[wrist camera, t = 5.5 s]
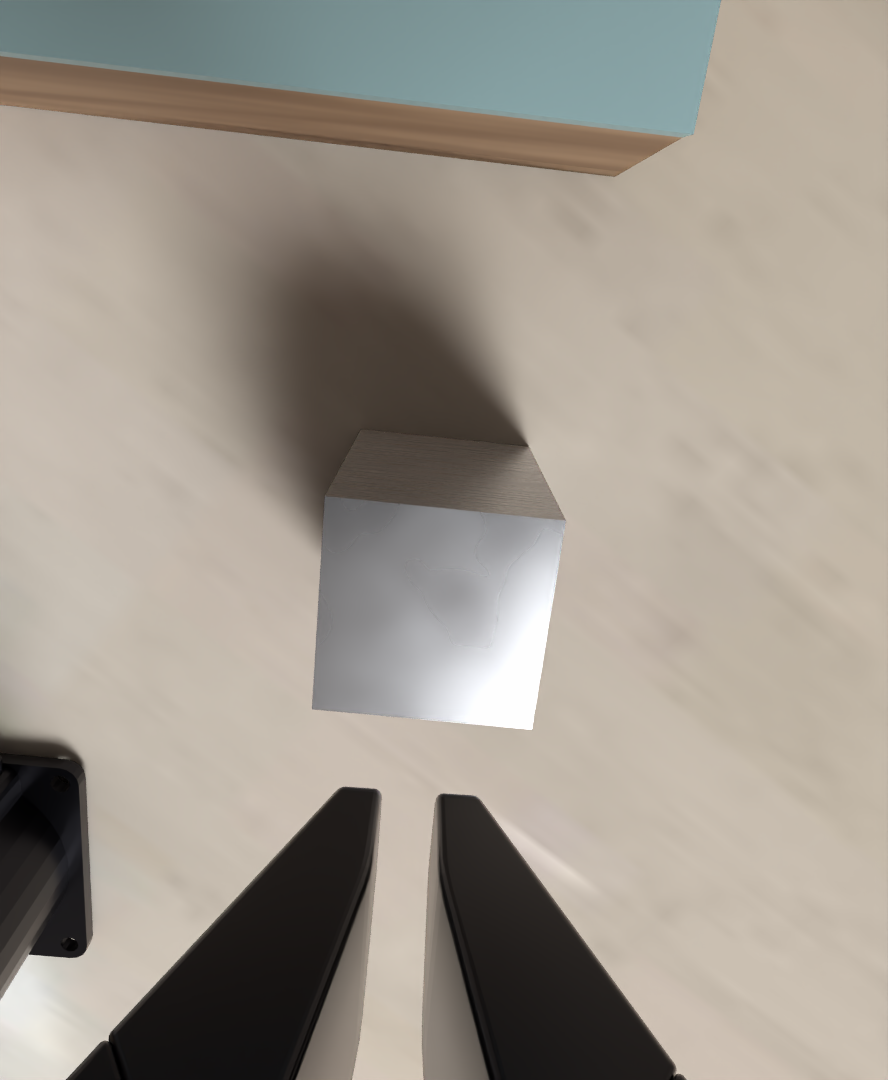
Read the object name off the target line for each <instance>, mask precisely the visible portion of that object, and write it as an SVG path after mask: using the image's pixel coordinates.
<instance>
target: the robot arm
mask: <svg viewBox="0 0 888 1080" xmlns="http://www.w3.org/2000/svg"><path fill="white" fill-rule="evenodd" d="M58 776H62V777H65V778H66V779H67V780H68V781H69V783H65V782H62V781H61V780H60V779H59V778H58ZM381 800H382V797H381V793H380V791H378V790H377V789H370V788H356V787H342V788H340V789H338V790H337V791H336V792H335V793H334V794H333V795H332V796H331V797H330V798H329V799H328V800H327V802H326V803H325V804H324V805H323V806H322V807H321V808H320V809H319V810H318V811H317V812H316V813H315V814H314V815H313V817H312V818H311V819H310V820H309V821H308V822H307V823H306V824H305V825H304V826H303V827H302V828H301V829H300V830H299V832H298V833H297V834H296V835H295V836H294V837H293V838H292V839H291V840H290V841H289V842H288V843H287V844H286V845H285V846H284V848H283V849H282V850H281V851H280V852H279V853H278V854H277V855H276V856H275V857H274V858H273V859H272V860H271V861H270V863H269V864H268V865H267V866H266V867H265V868H264V869H263V870H262V871H261V872H260V873H259V874H258V875H257V876H256V878H255V879H254V880H253V881H252V882H251V883H250V884H249V885H248V886H247V887H246V888H245V889H244V890H243V891H242V893H241V894H240V895H239V896H238V897H237V898H236V899H235V900H234V901H233V902H232V903H231V904H230V905H229V906H228V907H227V909H226V910H225V911H224V912H223V913H222V914H221V915H220V916H219V917H218V918H217V919H216V920H215V921H214V922H213V924H212V925H211V926H210V927H209V928H208V929H207V930H206V931H205V932H204V933H203V934H202V935H201V936H200V937H199V939H198V940H197V941H196V942H195V943H194V944H193V945H192V946H191V947H190V948H189V949H188V950H187V951H186V952H185V954H184V955H183V956H182V957H181V958H180V959H179V960H178V961H177V962H176V963H175V964H174V965H173V966H172V967H171V968H170V970H169V971H168V972H167V973H166V974H165V975H164V976H163V977H162V978H161V979H160V980H159V981H158V982H157V983H156V985H155V986H154V987H153V988H152V989H151V990H150V991H149V992H148V993H147V994H146V995H145V996H144V997H143V998H142V1000H141V1001H140V1002H139V1003H138V1004H137V1005H136V1006H135V1007H134V1008H133V1009H132V1010H131V1011H130V1012H129V1013H128V1015H127V1016H126V1017H125V1018H124V1019H123V1020H122V1021H121V1022H120V1023H119V1024H118V1025H117V1026H116V1027H115V1028H114V1029H113V1031H112V1032H111V1033H110V1035H109V1042H108V1041H103V1042H101V1043H100V1044H99V1045H98V1046H97V1047H96V1048H95V1049H94V1050H93V1051H92V1052H91V1053H90V1054H89V1055H88V1057H87V1058H86V1059H85V1060H84V1061H83V1062H82V1063H81V1064H80V1065H79V1066H78V1067H77V1068H76V1070H75V1071H74V1072H73V1073H72V1074H71V1075H70V1076H69V1077H68V1078H67V1079H66V1080H352V1076H353V1071H354V1066H355V1061H356V1055H357V1050H358V1045H359V1039H360V1031H361V1023H362V1015H363V1006H364V996H365V985H366V975H367V964H368V954H369V944H370V933H371V923H372V912H373V902H374V892H375V881H376V870H377V857H378V843H379V829H380V815H381ZM92 936H93V929H92V907H91V886H90V864H89V843H88V822H87V800H86V779H85V773H84V770H83V769H82V768H81V767H80V765H78V764H77V763H75V762H74V761H71V760H67V759H57V758H45V757H34V756H23V755H12V754H1V753H0V1000H1V998H2V997H3V995H4V993H5V992H6V990H7V989H8V987H9V985H10V984H11V982H12V980H13V979H14V977H15V975H16V974H17V972H18V971H19V969H20V967H21V966H22V964H23V962H24V961H25V959H26V958H27V956H28V954H29V955H41V956H54V957H66V958H75V957H79V956H81V955H83V954H84V952H85V951H86V950H87V948H88V946H89V944H90V942H91V940H92ZM71 938H73V939H75V940H73V939H71ZM422 1055H423V1076H424V1080H686V1078H685V1077H684V1076H683V1075H681V1074H676V1066H675V1064H674V1063H673V1061H672V1060H671V1058H670V1057H669V1056H668V1054H667V1053H666V1052H665V1050H664V1049H663V1048H662V1046H661V1045H660V1044H659V1042H658V1041H657V1039H656V1038H655V1037H654V1035H653V1034H652V1033H651V1031H650V1030H649V1029H648V1027H647V1026H646V1024H645V1023H644V1022H643V1020H642V1019H641V1018H640V1016H639V1015H638V1014H637V1012H636V1011H635V1009H634V1008H633V1007H632V1005H631V1004H630V1003H629V1001H628V1000H627V999H626V997H625V996H624V995H623V993H622V992H621V990H620V989H619V988H618V986H617V985H616V984H615V982H614V981H613V980H612V978H611V977H610V975H609V974H608V973H607V971H606V970H605V969H604V967H603V966H602V965H601V963H600V962H599V960H598V959H597V958H596V956H595V955H594V954H593V952H592V951H591V950H590V948H589V947H588V946H587V944H586V943H585V941H584V940H583V939H582V937H581V936H580V935H579V933H578V932H577V931H576V929H575V928H574V926H573V925H572V924H571V922H570V921H569V920H568V918H567V917H566V916H565V914H564V913H563V911H562V910H561V909H560V907H559V906H558V905H557V903H556V902H555V901H554V899H553V898H552V897H551V895H550V894H549V892H548V891H547V890H546V888H545V887H544V886H543V884H542V883H541V882H540V880H539V879H538V877H537V876H536V875H535V873H534V872H533V871H532V869H531V868H530V867H529V865H528V864H527V862H526V861H525V860H524V858H523V857H522V856H521V854H520V853H519V852H518V850H517V849H516V848H515V846H514V845H513V843H512V842H511V841H510V839H509V838H508V837H507V835H506V834H505V833H504V831H503V830H502V828H501V827H500V826H499V824H498V823H497V822H496V820H495V819H494V818H493V816H492V815H491V813H490V812H489V811H488V809H487V808H486V807H485V805H484V804H483V803H482V801H481V800H480V799H479V798H477V797H476V796H472V795H457V794H440V795H438V797H437V798H436V802H435V808H434V818H433V829H432V839H431V849H430V859H429V871H428V889H427V913H426V937H425V961H424V985H423V1010H422Z"/></svg>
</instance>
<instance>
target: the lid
mask: <svg viewBox="0 0 888 1080" xmlns="http://www.w3.org/2000/svg"><path fill="white" fill-rule="evenodd" d="M720 3H721V0H0V56H4V57H12V58H21V59H29V60H37V61H46V62H54V63H63V64H71V65H79V66H88V67H96V68H104V69H113V70H121V71H129V72H138V73H146V74H155V75H163V76H171V77H180V78H188V79H196V80H205V81H213V82H222V83H230V84H238V85H247V86H255V87H263V88H272V89H280V90H288V91H297V92H305V93H314V94H322V95H330V96H339V97H347V98H355V99H364V100H372V101H380V102H389V103H397V104H406V105H414V106H422V107H431V108H439V109H447V110H456V111H464V112H472V113H481V114H489V115H498V116H506V117H514V118H523V119H531V120H539V121H548V122H556V123H564V124H573V125H581V126H590V127H598V128H606V129H615V130H623V131H631V132H640V133H648V134H656V135H665V136H673V137H682V138H683V137H686V136H689V135H693V134H694V129H695V124H696V120H697V115H698V110H699V105H700V100H701V95H702V90H703V86H704V81H705V76H706V71H707V66H708V61H709V56H710V52H711V47H712V42H713V37H714V32H715V27H716V22H717V17H718V13H719V8H720Z"/></svg>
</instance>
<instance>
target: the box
mask: <svg viewBox="0 0 888 1080" xmlns="http://www.w3.org/2000/svg"><path fill="white" fill-rule="evenodd" d="M0 105H9V106H17V107H26V108H34V109H43V110H51V111H60V112H68V113H77V114H85V115H94V116H102V117H111V118H119V119H128V120H136V121H145V122H153V123H162V124H170V125H179V126H188V127H196V128H205V129H213V130H222V131H230V132H239V133H247V134H256V135H264V136H273V137H281V138H290V139H298V140H307V141H315V142H324V143H332V144H341V145H349V146H358V147H366V148H375V149H383V150H392V151H400V152H409V153H417V154H426V155H434V156H443V157H451V158H460V159H468V160H477V161H485V162H494V163H503V164H511V165H520V166H528V167H537V168H545V169H554V170H562V171H571V172H579V173H588V174H596V175H605V176H613V177H615V176H617V175H619V174H620V173H622V172H624V171H625V170H627V169H629V168H631V167H632V166H634V165H636V164H638V163H639V162H641V161H643V160H644V159H646V158H648V157H650V156H651V155H653V154H655V153H657V152H658V151H660V150H662V149H663V148H665V147H667V146H669V145H670V144H672V143H674V142H676V141H677V140H679V139H681V138H682V137H673V136H665V135H656V134H648V133H640V132H631V131H623V130H615V129H606V128H598V127H590V126H581V125H573V124H564V123H556V122H548V121H539V120H531V119H523V118H514V117H506V116H498V115H489V114H481V113H472V112H464V111H456V110H447V109H439V108H431V107H422V106H414V105H406V104H397V103H389V102H380V101H372V100H364V99H355V98H347V97H339V96H330V95H322V94H314V93H305V92H297V91H288V90H280V89H272V88H263V87H255V86H247V85H238V84H230V83H222V82H213V81H205V80H196V79H188V78H180V77H171V76H163V75H155V74H146V73H138V72H129V71H121V70H113V69H104V68H96V67H88V66H79V65H71V64H63V63H54V62H46V61H37V60H29V59H21V58H12V57H4V56H0Z"/></svg>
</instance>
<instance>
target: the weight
mask: <svg viewBox="0 0 888 1080" xmlns="http://www.w3.org/2000/svg"><path fill="white" fill-rule="evenodd" d="M565 523H566V520H565V518H564V516H563V514H562V512H561V510H560V508H559V506H558V504H557V502H556V500H555V498H554V496H553V494H552V492H551V490H550V488H549V486H548V484H547V482H546V480H545V478H544V476H543V474H542V472H541V470H540V468H539V466H538V464H537V462H536V460H535V458H534V456H533V454H532V452H531V450H530V448H529V447H528V446H519V445H509V444H500V443H490V442H481V441H471V440H462V439H452V438H443V437H433V436H424V435H414V434H404V433H395V432H385V431H376V430H366V429H361V430H360V432H359V434H358V436H357V438H356V439H355V441H354V443H353V445H352V447H351V449H350V451H349V452H348V454H347V456H346V458H345V460H344V462H343V463H342V465H341V467H340V469H339V471H338V473H337V475H336V476H335V478H334V480H333V482H332V484H331V486H330V487H329V489H328V491H327V493H326V495H325V501H324V517H323V534H322V551H321V568H320V584H319V601H318V618H317V634H316V651H315V668H314V685H313V701H312V709H315V710H326V711H337V712H347V713H358V714H369V715H380V716H391V717H401V718H412V719H423V720H434V721H444V722H455V723H466V724H477V725H487V726H498V727H509V728H520V729H531V730H532V726H533V719H534V713H535V707H536V701H537V695H538V689H539V683H540V677H541V670H542V664H543V658H544V652H545V646H546V640H547V634H548V627H549V621H550V615H551V609H552V603H553V597H554V591H555V584H556V578H557V572H558V566H559V560H560V554H561V548H562V542H563V535H564V529H565Z"/></svg>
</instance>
